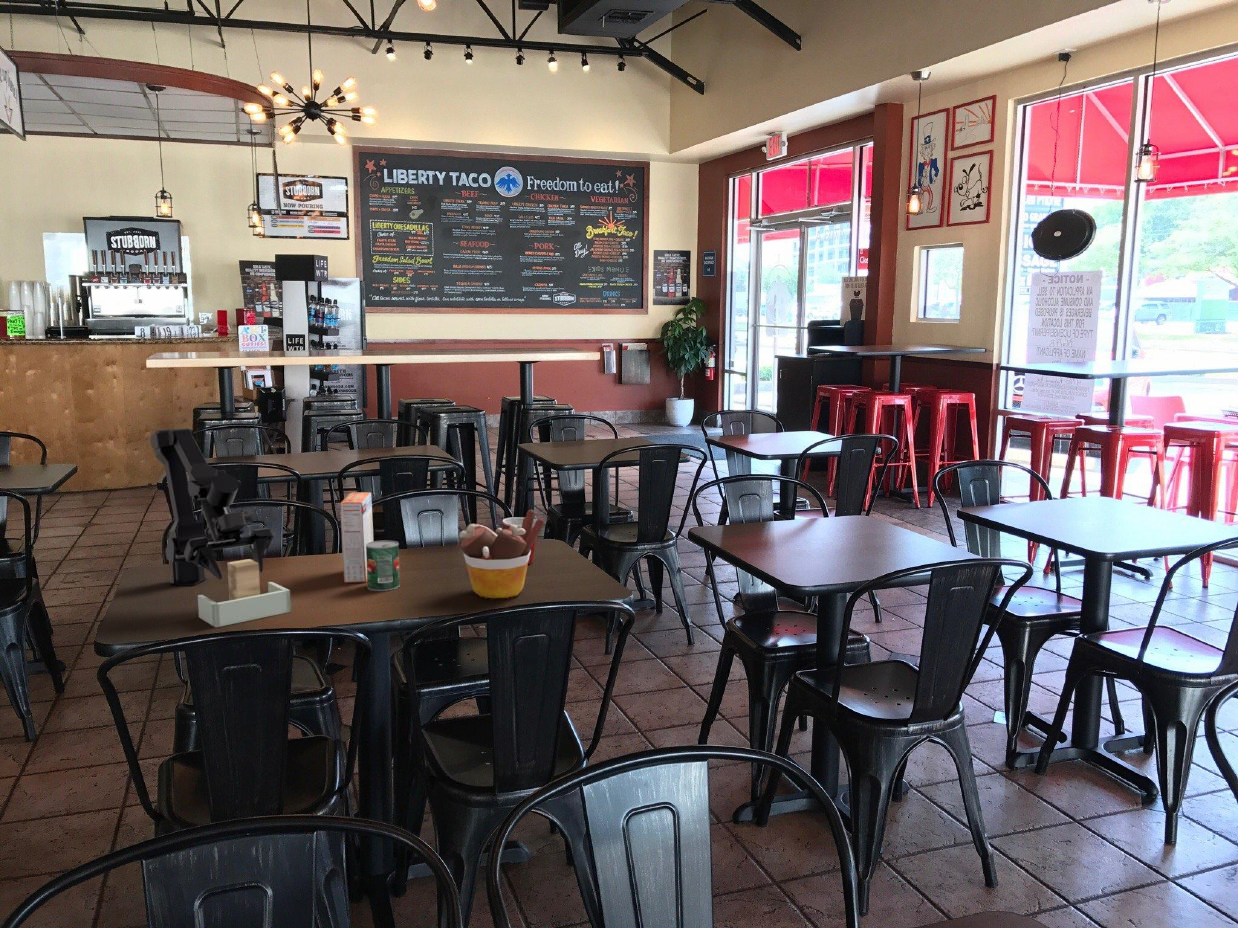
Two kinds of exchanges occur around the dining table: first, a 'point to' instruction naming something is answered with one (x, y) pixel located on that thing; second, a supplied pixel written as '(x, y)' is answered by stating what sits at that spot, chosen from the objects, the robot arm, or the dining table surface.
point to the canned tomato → (382, 565)
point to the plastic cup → (518, 523)
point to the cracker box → (356, 535)
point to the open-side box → (245, 607)
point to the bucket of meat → (499, 556)
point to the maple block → (243, 579)
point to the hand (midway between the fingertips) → (241, 574)
